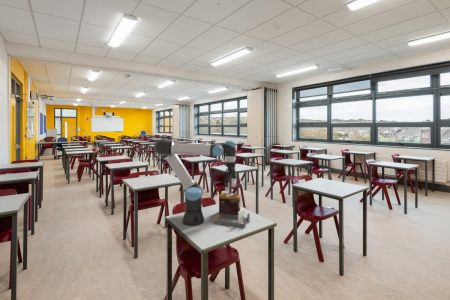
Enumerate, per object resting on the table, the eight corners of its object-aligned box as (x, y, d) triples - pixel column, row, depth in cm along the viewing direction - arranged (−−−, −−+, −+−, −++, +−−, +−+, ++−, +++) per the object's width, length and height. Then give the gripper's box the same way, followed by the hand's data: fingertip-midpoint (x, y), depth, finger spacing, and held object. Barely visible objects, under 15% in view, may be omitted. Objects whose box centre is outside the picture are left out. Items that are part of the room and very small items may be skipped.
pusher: (237, 225, 166) (238, 212, 165) (242, 219, 176) (243, 207, 175) (244, 226, 164) (244, 213, 163) (248, 220, 174) (249, 208, 173)
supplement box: (238, 217, 182) (239, 197, 180) (218, 215, 185) (218, 195, 183) (240, 212, 192) (240, 193, 190) (221, 211, 195) (221, 192, 193)
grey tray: (213, 222, 172) (213, 214, 171) (220, 216, 184) (220, 208, 183) (244, 228, 163) (244, 219, 163) (249, 221, 175) (249, 213, 174)
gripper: (229, 164, 171) (229, 193, 173) (240, 159, 194) (240, 185, 196) (219, 163, 174) (219, 192, 176) (231, 159, 197) (231, 184, 199)
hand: (230, 188), depth 186 cm, fingers open, 13 cm apart
